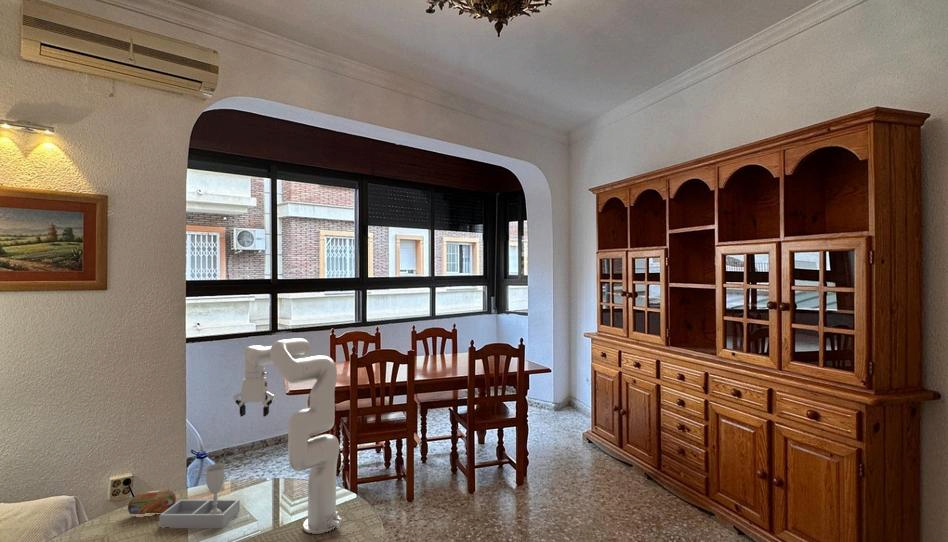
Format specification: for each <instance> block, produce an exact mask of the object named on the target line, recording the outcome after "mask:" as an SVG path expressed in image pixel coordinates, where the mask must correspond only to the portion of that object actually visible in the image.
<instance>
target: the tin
mask: <svg viewBox="0 0 948 542" xmlns="http://www.w3.org/2000/svg"><path fill="white" fill-rule="evenodd" d="M175 503H177V497H176V494H175V492H173V491H172V490H170V489H160V490H152V491H142V492H140V493H138V494H136V495H135V496H133V497H132V498H131V499H130V500H129V502H128V504H127V511H128V513H129V514H130V515H131V514H145V513H163V512H165V511H166V510H167V509H169V508H170V507H171V506H173V505H174V504H175Z"/></svg>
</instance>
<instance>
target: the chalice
mask: <svg viewBox="0 0 948 542" xmlns="http://www.w3.org/2000/svg"><path fill="white" fill-rule="evenodd" d="M226 467H227V464H226V463H222V462H221V463H220V462H219V463H214V464H210V465H208V466H206V467H205V468H204V471H205V472H206V474H205V483H206V484H205V485H206V486H207V488H208V490H209V492H210V493H211V494H213V498H212V500H214V503H213V505H214V509H213V510H211V512H210V513H209V514H222V512H221V510H220V509H218V508H217V504H218V502H217V500H218V498H219V497H218V495H217V494H218V493H220V491H221V489H222V487H223V485H224V482H225V478H226V477H225V475H226V469H225V468H226Z"/></svg>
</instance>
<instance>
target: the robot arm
mask: <svg viewBox="0 0 948 542" xmlns="http://www.w3.org/2000/svg"><path fill="white" fill-rule="evenodd" d="M311 352H312V345H311V342H309V341H308V340H307V339H305V338H300V337H298V338H297V337H296V338H288V339H287V338H286V339H280V340H276V341H275V342H274V343H272V344H271V345H270V346H269V345H268V346H264V345H257V344H255V345H250V346H247V347H246V348H245V350H244V378H243V379H242V384H241V390H240V392H239V393H237V394H235V395H233V397H232V398H233V399H234V401H235V404H236V405H237V406H238V407H239V415H240V417H244V416H245V415H246V411H247V410H246V409H247V408H246V405H245V404H248V403H249V404H251V403H257V404H258V403H261V404H262V405H263V407H262V409H263V410H262V411H263V412H262V413H263V415H262V417H267V416H268V415H269V414H270V405H271V404H272V403H273V402H274V401H275V398H276V395H275V394H273V393H271V392H270V391H269V383H268V379H267V377H266V376H268V373H269V372H266V370H265V369H266V368H265V366H266V365H267V366H268V365H274V366H275V367H276V369H277V370H278V371H279V372H280V374H281V376H282V377H283V379H284V380H285V381H287V382H288V383H290V384H299V383H304V382H307V381H309V382H310V381H314V380H316V381H315V383H314V384H313V386H312V387H311V390H310V392H309V406H308V407H306V408H303V409H299V410H297V411H294V412H293V414H292V415H291V416H290V418H289V421H288V427H287V429H288V430H287V431H288V432H287V433H288V435H287V436H288V444H287V447H288V448H287V449H288V451H287V453H288V463H289V466H290V467H291V469H292V470H293V471H295V472H303V471H306V470H308V469H310V470H309V473H308V477H307V479H308V480H307V481H308V482H307V486H308V487H307V489H308V490H307V518H306V520H304V522H303V523H302V529H303V530H304V532H306V533H307V534H311V533H312V534H314V535H319V534H325V532H326V533H329V532H331V530H332V529H333V530H335V529H336V528H337V529H338V528H340V527H341V524H342V523H343V518H342V517H340V516H339V511H337V507H336V506H337V467H338V465H337V464H338V459H339V453H340V442H339V439H338V438H337V436H335V435H333V434H330V433H326V432H327V431H329V430H331V429H332V428H334V425H335V417H336V415H335V412H336V411H335V410H336V409H335V400H336V399H335V391H336V385H337V378H338V377H337V376H338V368H337V365H336V363H335V360H334V359H332V358H331V357H330V356H328V355H312V356H310V354H311ZM239 397H240V398H239ZM269 398H270V399H269ZM324 432H325V433H324ZM322 433H324V434H322ZM319 434H320V435H319ZM315 435H317V436H315ZM312 436H314V437H312ZM310 437H311V438H310ZM335 527H336V528H335ZM334 528H335V529H334ZM333 530H332V531H333ZM328 531H329V532H328Z"/></svg>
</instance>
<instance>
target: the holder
mask: <svg viewBox="0 0 948 542" xmlns="http://www.w3.org/2000/svg"><path fill="white" fill-rule="evenodd" d="M240 501H241V500H240V499H217V502H218V504H217V508H218V509H220V510H221V512H222V514H209V513H210V512H211V510H213V509H214V505H213V503H214V500H213V499H179V500H178V501H176V502H175V504H174V505H173V506H171V507H170V508H169V509H167V510H166V511H165V512H163V513H162V514H161V515H158V516H159V522H158V526H159V527H174V528H173V529H223V528H224V527H225V526H226V525H228V524H229V523H230V522H231V520H233V519H234V517H236V516H237V515H238V514H239V513H240V511H241V510H240V507H241V504H240V503H241V502H240ZM159 527H158V528H159Z"/></svg>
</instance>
